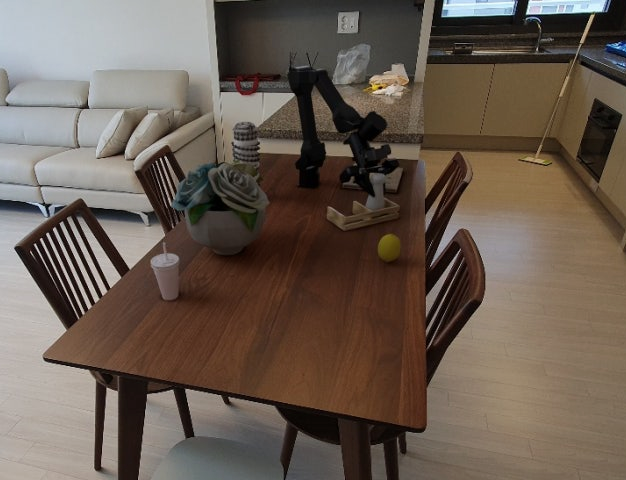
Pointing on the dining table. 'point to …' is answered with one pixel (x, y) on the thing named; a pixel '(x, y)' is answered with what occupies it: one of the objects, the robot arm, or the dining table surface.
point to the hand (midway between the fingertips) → (379, 195)
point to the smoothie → (166, 273)
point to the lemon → (389, 247)
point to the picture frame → (390, 181)
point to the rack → (363, 215)
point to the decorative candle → (246, 145)
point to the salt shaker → (376, 193)
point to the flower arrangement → (222, 205)
